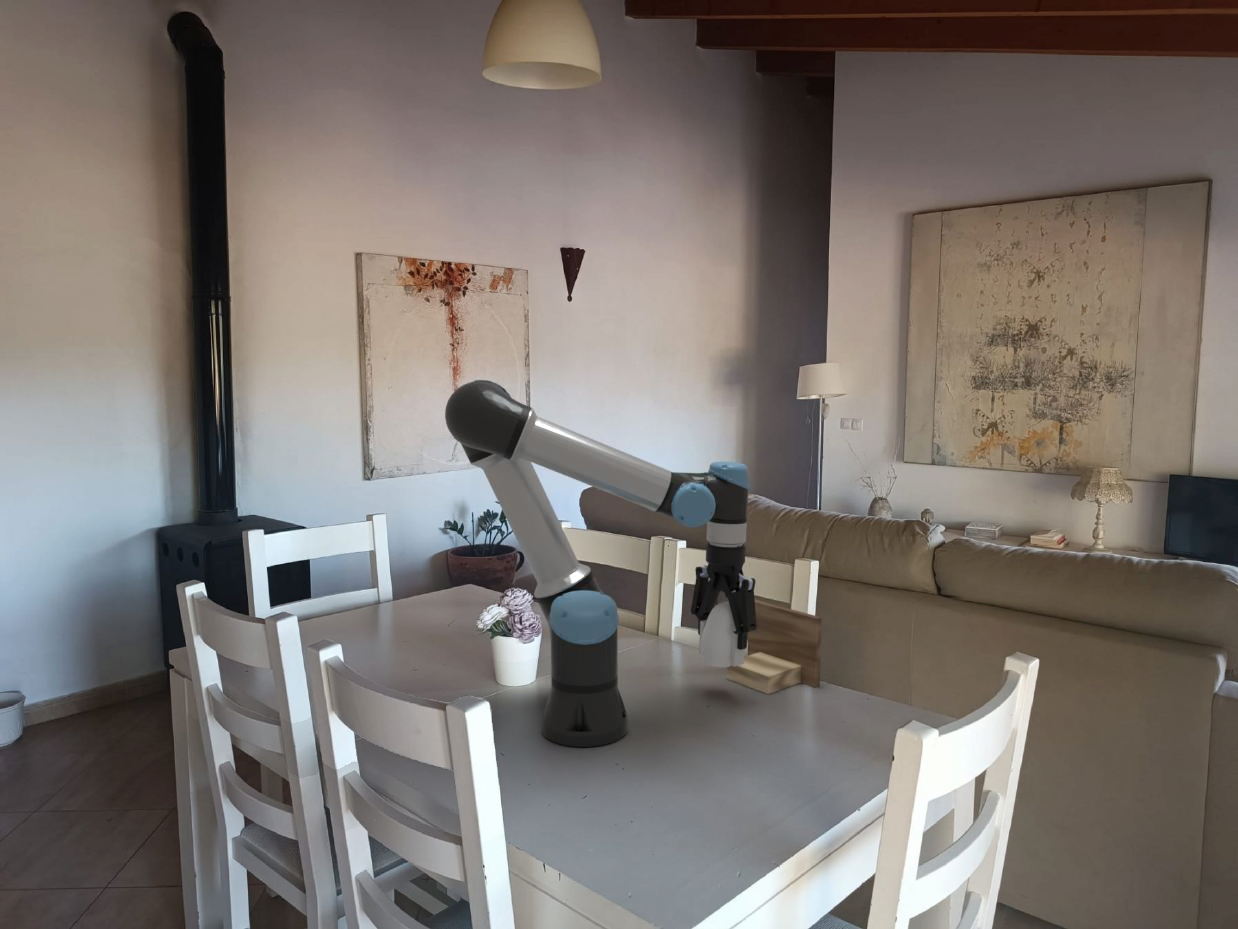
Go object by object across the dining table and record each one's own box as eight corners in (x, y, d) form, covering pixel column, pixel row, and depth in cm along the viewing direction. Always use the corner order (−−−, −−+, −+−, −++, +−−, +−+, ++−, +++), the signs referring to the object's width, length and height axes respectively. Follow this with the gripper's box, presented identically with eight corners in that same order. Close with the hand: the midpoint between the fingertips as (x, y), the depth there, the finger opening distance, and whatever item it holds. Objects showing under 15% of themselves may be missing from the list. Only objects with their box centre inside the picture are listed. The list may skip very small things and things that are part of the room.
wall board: (782, 699, 165) (783, 628, 163) (714, 674, 179) (715, 608, 177) (819, 685, 172) (821, 617, 170) (752, 662, 186) (753, 598, 184)
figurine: (741, 669, 163) (744, 607, 162) (701, 667, 164) (704, 606, 162) (736, 657, 171) (739, 598, 169) (698, 655, 171) (701, 596, 169)
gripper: (781, 550, 159) (775, 670, 161) (701, 532, 175) (697, 641, 177) (753, 555, 154) (747, 678, 156) (674, 535, 170) (670, 647, 172)
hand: (721, 658), depth 167 cm, fingers closed on figurine, 8 cm apart
